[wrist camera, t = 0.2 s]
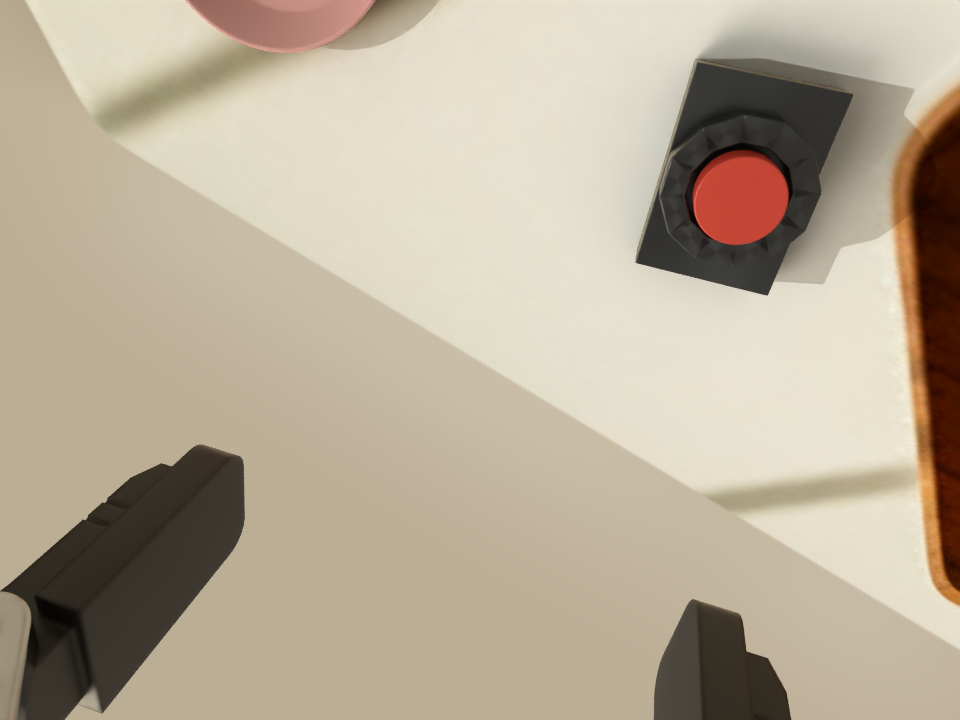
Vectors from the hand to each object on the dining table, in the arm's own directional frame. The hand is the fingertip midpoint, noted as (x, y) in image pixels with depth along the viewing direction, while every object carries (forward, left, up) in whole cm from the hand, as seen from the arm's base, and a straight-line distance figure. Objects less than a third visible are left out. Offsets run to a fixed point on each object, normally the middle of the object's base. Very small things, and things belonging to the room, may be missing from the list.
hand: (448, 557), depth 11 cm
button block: (-2, +6, -29) cm, 30 cm away
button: (-2, +7, -25) cm, 26 cm away
